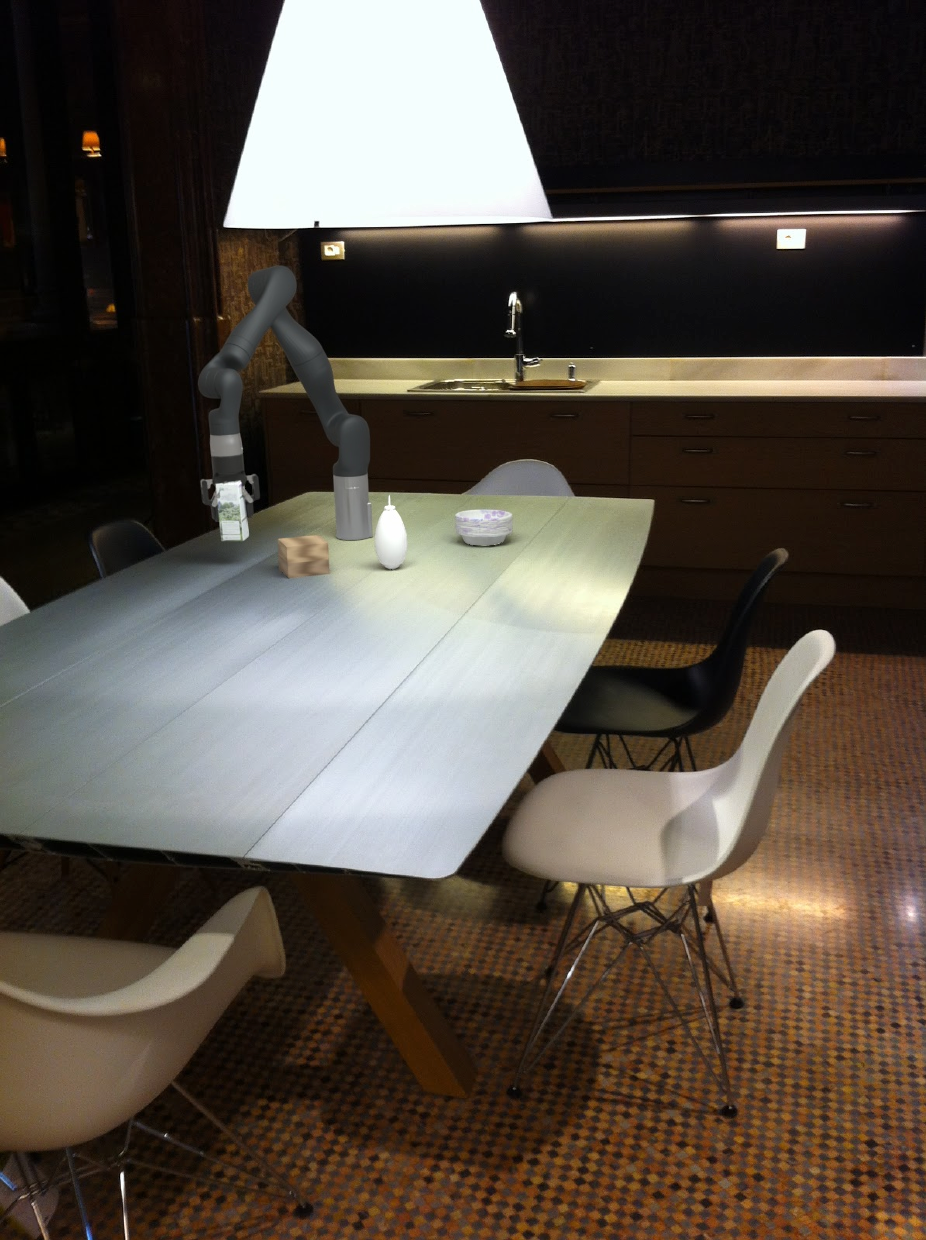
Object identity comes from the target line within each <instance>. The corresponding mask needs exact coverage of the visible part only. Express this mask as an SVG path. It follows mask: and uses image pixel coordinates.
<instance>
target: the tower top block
mask: <svg viewBox="0 0 926 1240" xmlns="http://www.w3.org/2000/svg"><path fill="white" fill-rule="evenodd" d="M277 549H278V555H279V556H280V557H281V558H282V559H283V560H285V561H286V562H287V563H288V564H289V563H299V562H308V561H318V560H327V559H329V560H330V555H329V554H330V553H329V550H330V549H329V542H328V541H326V540H325V539H324V538H323V537H322V536H320V535H319V534H315V535H305V536H304V535H302V536H294V537H293V536H292V537H283V538H277Z"/></svg>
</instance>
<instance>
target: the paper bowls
mask: <svg viewBox="0 0 926 1240" xmlns="http://www.w3.org/2000/svg"><path fill="white" fill-rule="evenodd" d="M513 516H514V515H513V513H512V512H509V511H507V510H506V511H505V510H499V509H470V510H469V509H468V510H467V509H466V510H462V511H459V512H456V513H455V515H454V532H455V533H456V534H457V535H461V537H462V540H463V541H464V542H465V544H467V545H469V544H470V546H473V545H494V544H498V543H501V542H502V543H504V541H505V540H506V537H507V536H508V535H511V534H512V533H513V532H514V529H513V523H514V522H513V519H514V518H513ZM502 543H501V544H502Z"/></svg>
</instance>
